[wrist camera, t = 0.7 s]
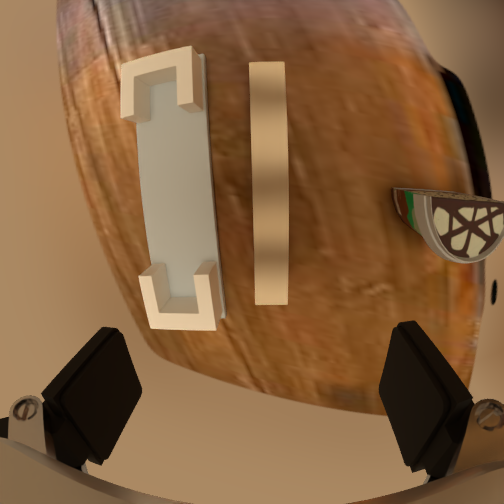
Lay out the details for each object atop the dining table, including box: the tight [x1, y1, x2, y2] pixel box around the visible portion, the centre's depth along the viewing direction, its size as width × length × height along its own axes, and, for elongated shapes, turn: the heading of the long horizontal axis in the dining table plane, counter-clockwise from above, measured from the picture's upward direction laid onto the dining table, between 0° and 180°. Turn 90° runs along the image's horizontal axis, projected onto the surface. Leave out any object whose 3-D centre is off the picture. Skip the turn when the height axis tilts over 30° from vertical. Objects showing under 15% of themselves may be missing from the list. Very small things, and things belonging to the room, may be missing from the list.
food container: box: [392, 188, 504, 263], centre depth 23 cm, size 12×6×10 cm, turn 93°
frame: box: [120, 46, 227, 330], centre depth 27 cm, size 30×8×5 cm, turn 4°
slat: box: [249, 62, 289, 305], centre depth 25 cm, size 22×3×6 cm, turn 2°
